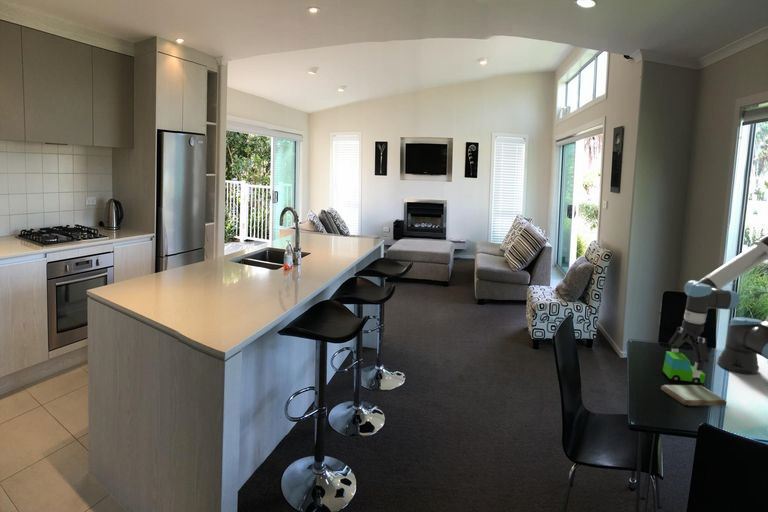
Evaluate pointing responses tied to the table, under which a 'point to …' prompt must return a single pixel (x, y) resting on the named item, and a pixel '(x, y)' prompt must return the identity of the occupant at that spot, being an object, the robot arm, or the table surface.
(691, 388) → the wooden board
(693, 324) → the robot arm
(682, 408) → the table surface
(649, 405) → the table surface
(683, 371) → the toy car
